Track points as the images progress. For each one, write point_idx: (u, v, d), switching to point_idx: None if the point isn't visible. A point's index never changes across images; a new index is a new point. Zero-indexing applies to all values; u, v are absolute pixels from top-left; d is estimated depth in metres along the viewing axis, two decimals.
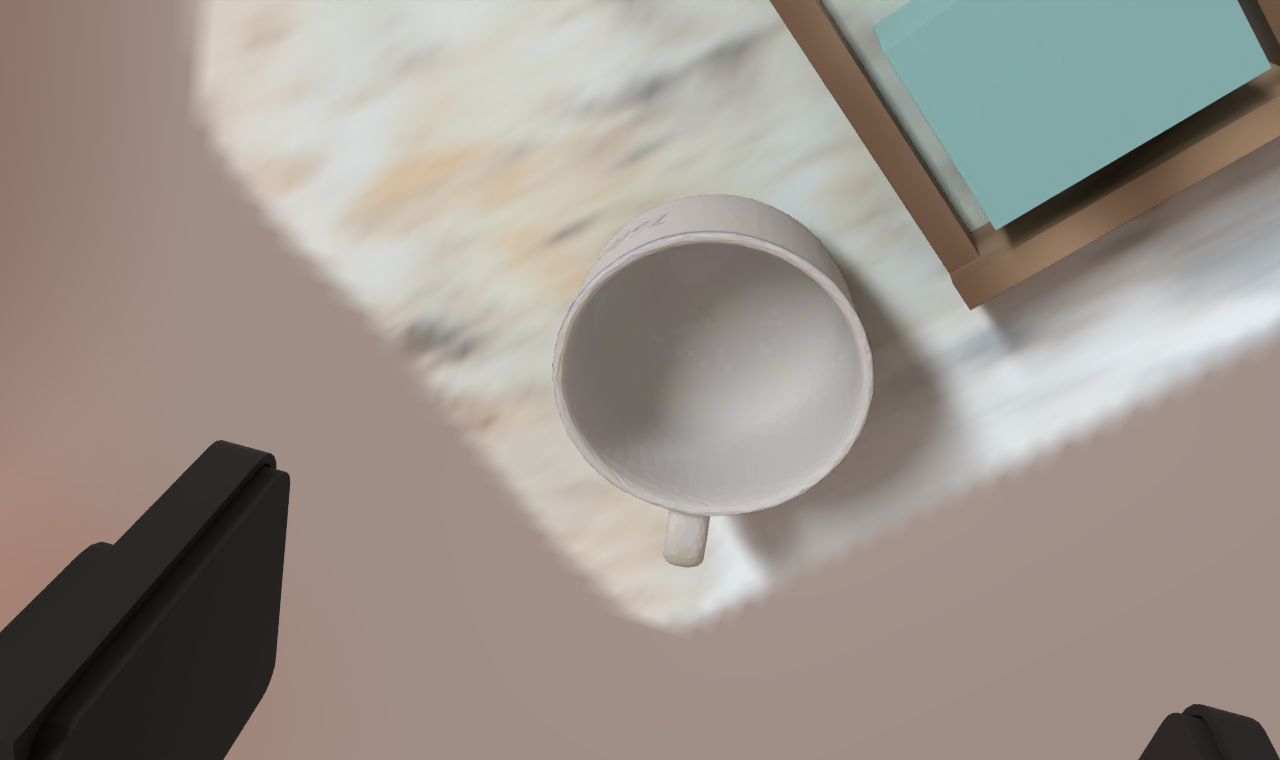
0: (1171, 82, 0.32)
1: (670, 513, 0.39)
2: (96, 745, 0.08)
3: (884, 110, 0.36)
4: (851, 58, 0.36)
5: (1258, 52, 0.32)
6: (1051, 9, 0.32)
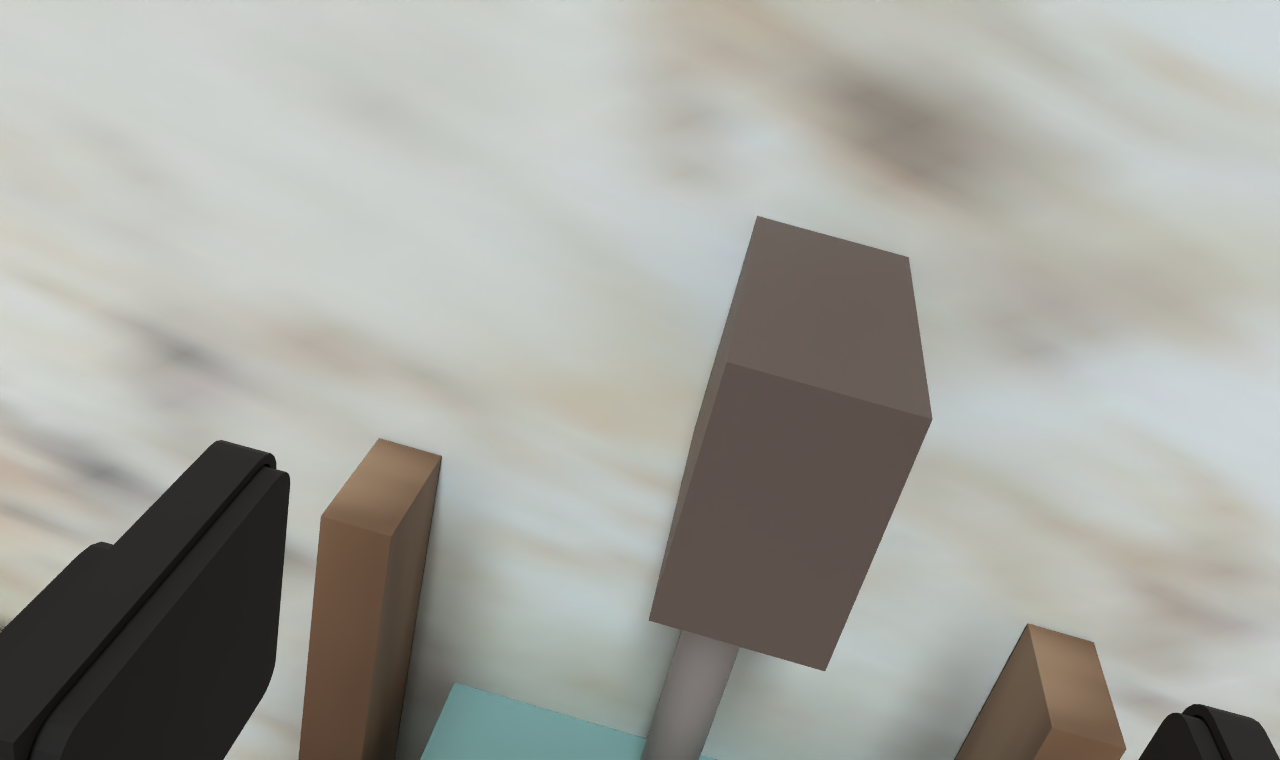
0: None
1: None
2: (97, 745, 0.08)
3: None
4: None
5: None
6: None
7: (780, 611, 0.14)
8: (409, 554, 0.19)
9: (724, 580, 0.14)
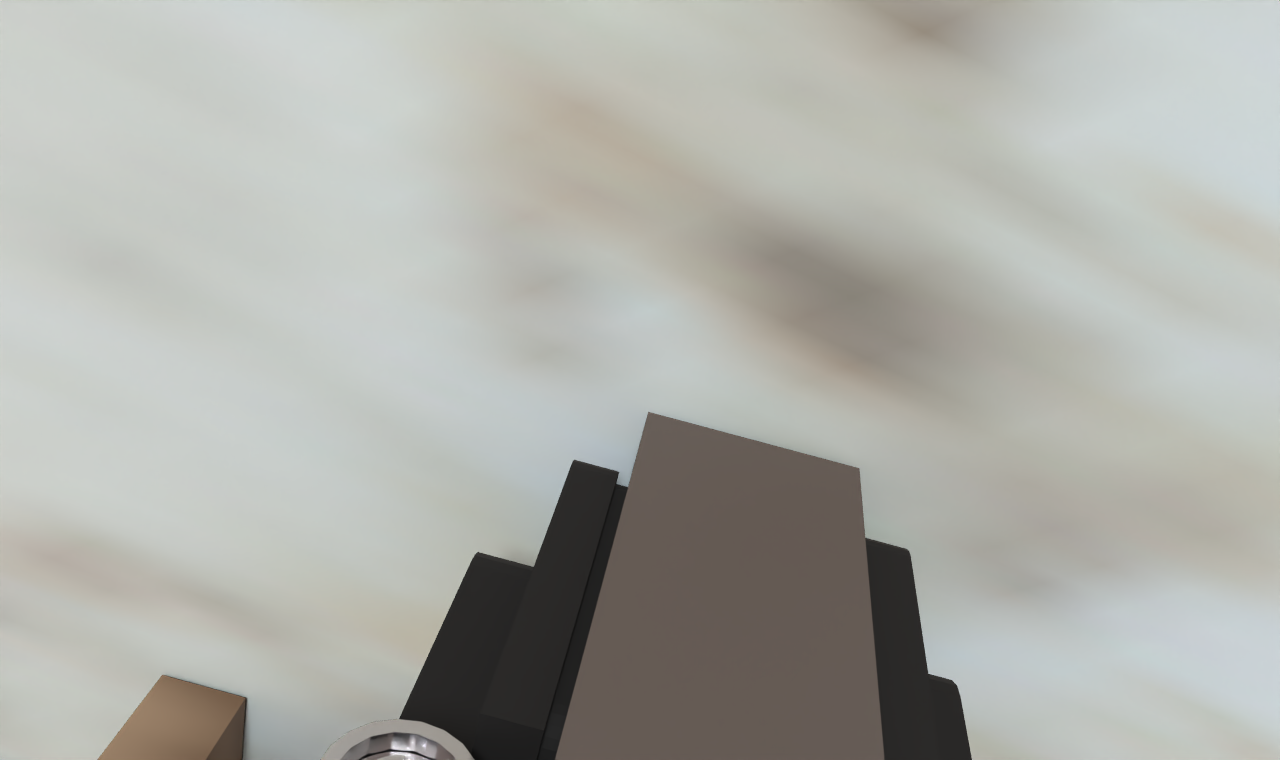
0: None
1: None
2: None
3: None
4: None
5: None
6: None
7: None
8: None
9: None
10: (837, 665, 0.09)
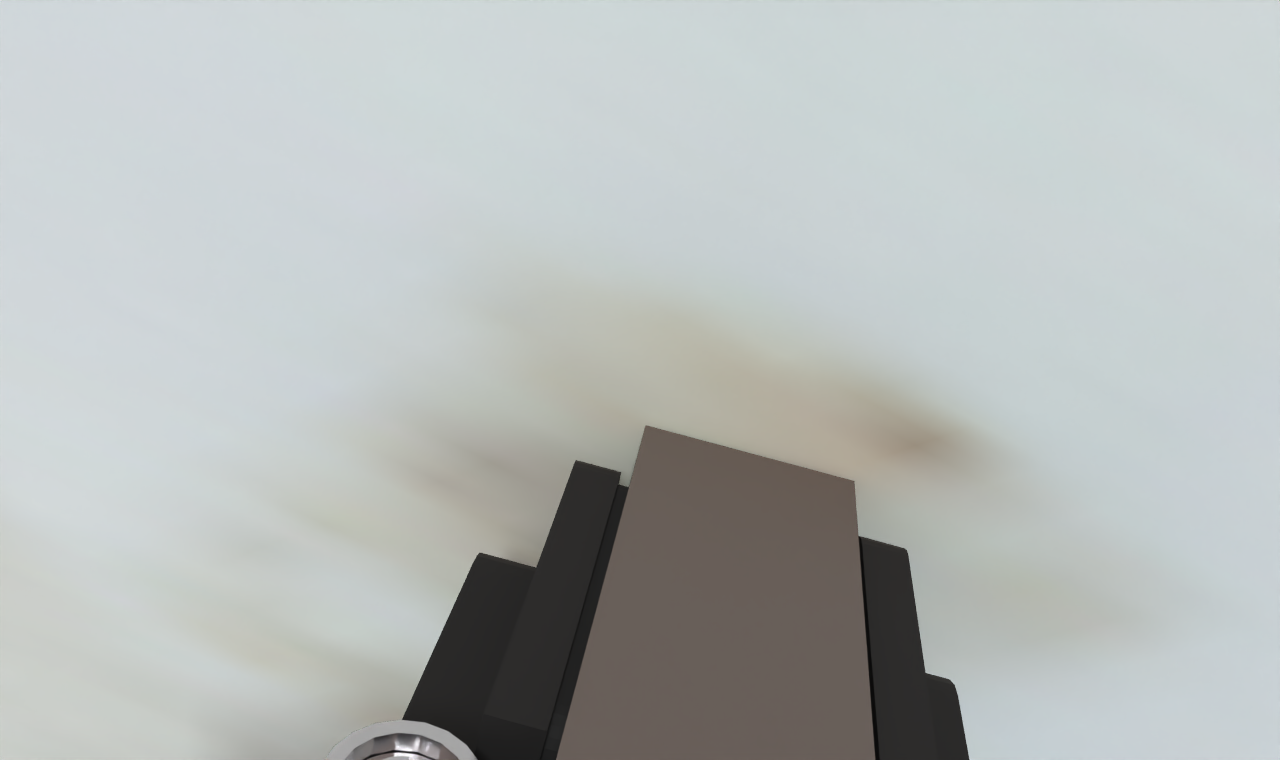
0: None
1: None
2: None
3: None
4: None
5: None
6: None
7: None
8: None
9: None
10: (830, 679, 0.09)
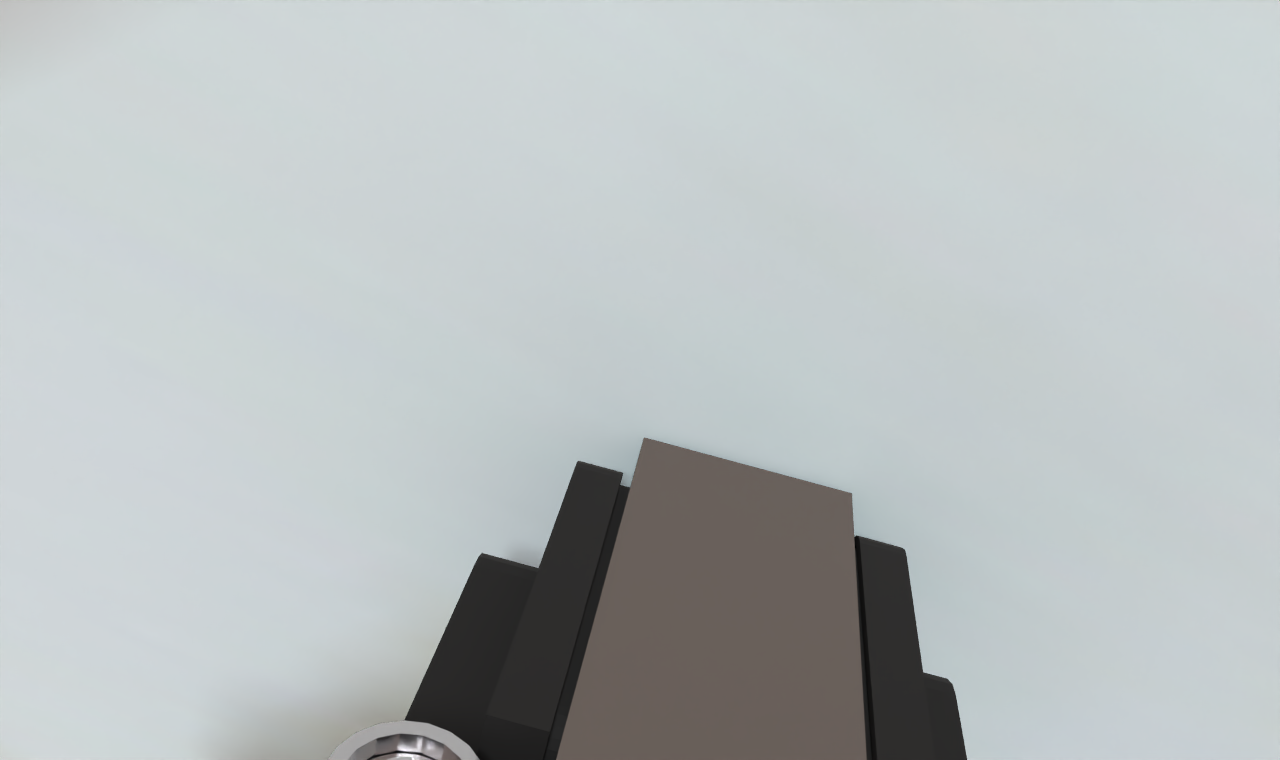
0: None
1: None
2: None
3: None
4: None
5: None
6: None
7: None
8: None
9: None
10: (824, 697, 0.09)
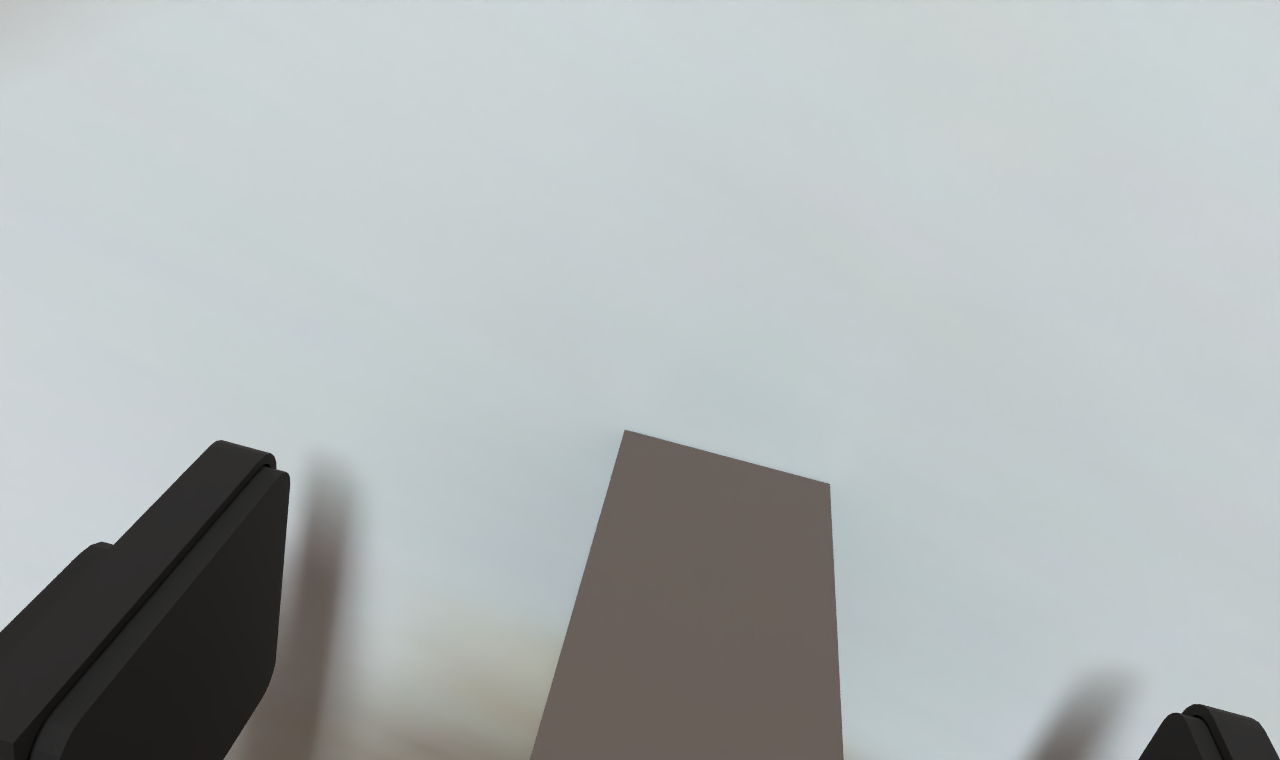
0: None
1: None
2: (96, 745, 0.08)
3: None
4: None
5: None
6: None
7: None
8: None
9: None
10: (801, 679, 0.09)
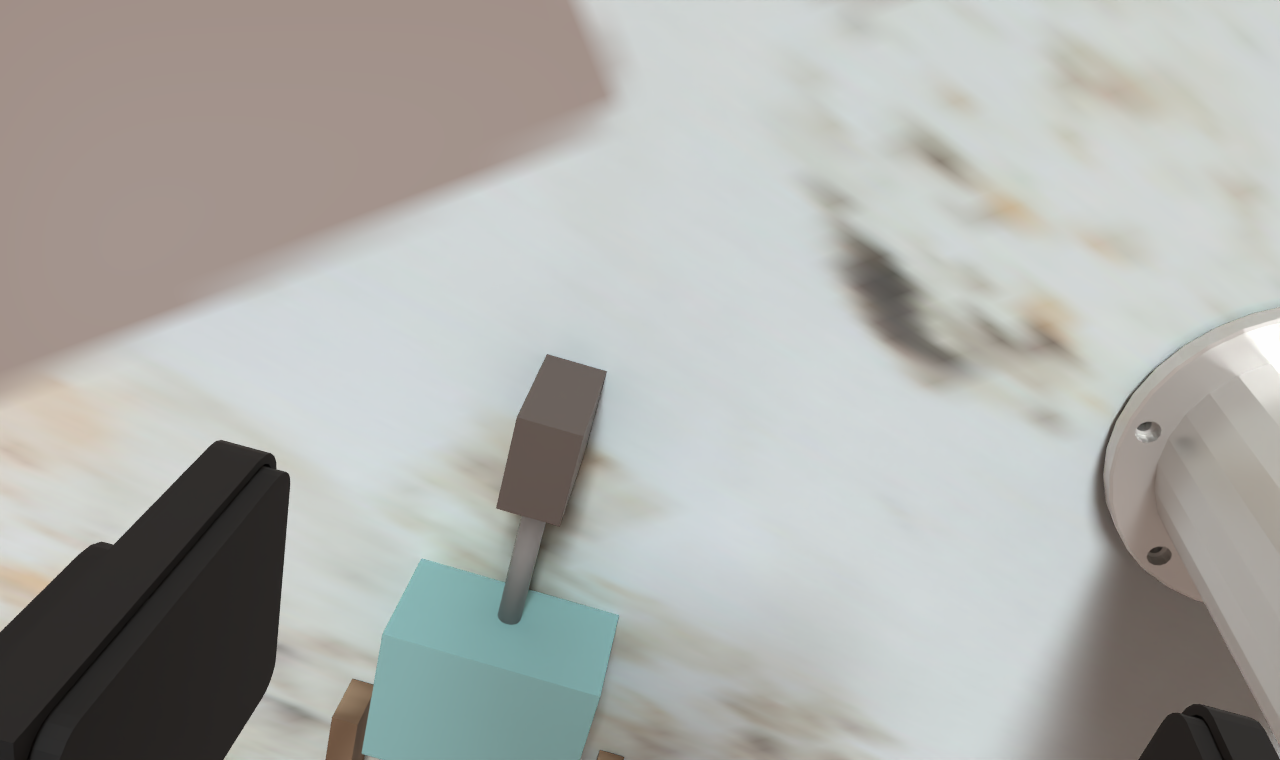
0: None
1: None
2: (96, 745, 0.08)
3: None
4: None
5: None
6: (486, 698, 0.43)
7: (541, 503, 0.38)
8: (363, 725, 0.50)
9: (521, 492, 0.38)
10: (583, 409, 0.38)
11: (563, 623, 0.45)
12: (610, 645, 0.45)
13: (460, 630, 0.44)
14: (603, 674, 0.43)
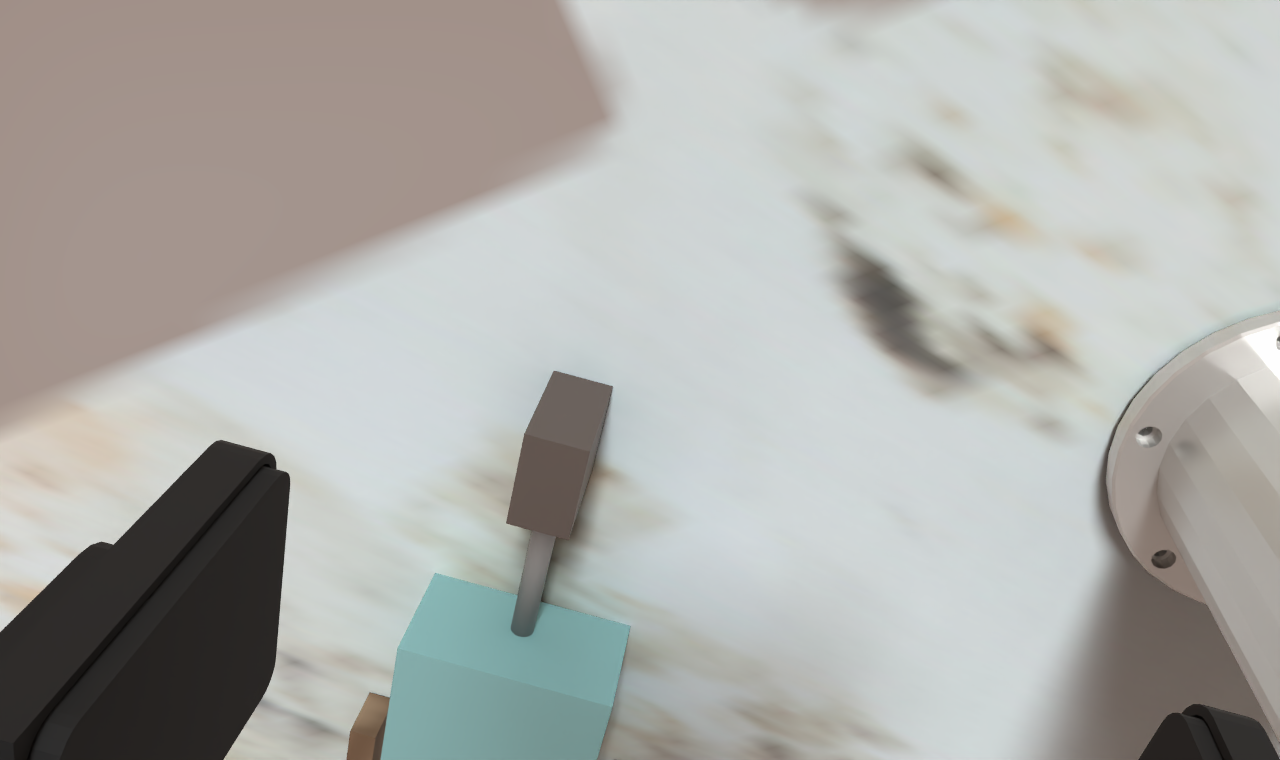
0: None
1: None
2: (96, 745, 0.08)
3: None
4: None
5: None
6: (501, 710, 0.44)
7: (550, 518, 0.39)
8: (381, 738, 0.51)
9: (530, 507, 0.39)
10: (589, 425, 0.39)
11: (575, 635, 0.46)
12: (622, 656, 0.46)
13: (473, 643, 0.44)
14: (615, 685, 0.44)
